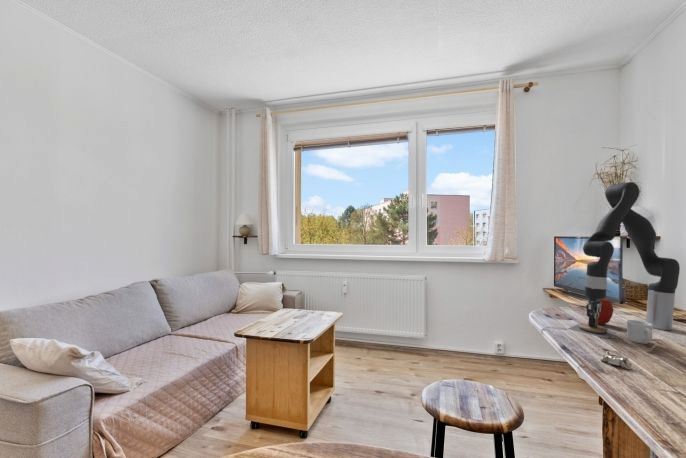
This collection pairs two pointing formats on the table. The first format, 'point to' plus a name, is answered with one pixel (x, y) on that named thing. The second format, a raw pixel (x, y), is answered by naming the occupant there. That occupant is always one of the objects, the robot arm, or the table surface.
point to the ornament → (616, 360)
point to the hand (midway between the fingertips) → (592, 325)
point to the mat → (605, 335)
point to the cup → (639, 331)
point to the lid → (593, 329)
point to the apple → (605, 312)
